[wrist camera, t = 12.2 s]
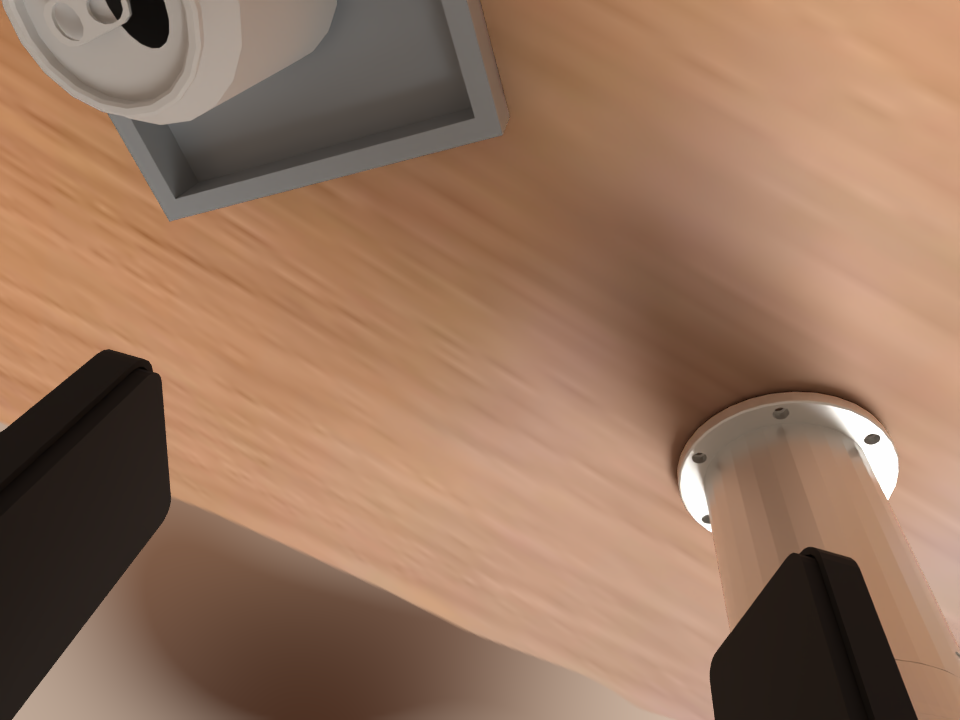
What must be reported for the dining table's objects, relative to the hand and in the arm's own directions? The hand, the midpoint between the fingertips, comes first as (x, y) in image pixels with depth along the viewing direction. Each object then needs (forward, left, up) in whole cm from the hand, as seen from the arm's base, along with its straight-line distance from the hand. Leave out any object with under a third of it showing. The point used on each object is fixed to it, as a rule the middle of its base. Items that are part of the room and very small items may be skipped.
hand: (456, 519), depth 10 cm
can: (+8, +11, -26) cm, 29 cm away
